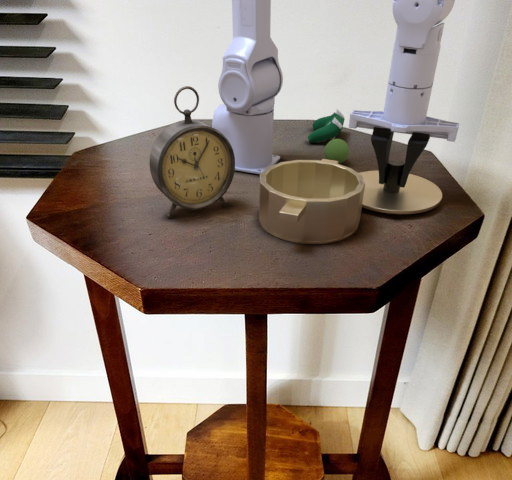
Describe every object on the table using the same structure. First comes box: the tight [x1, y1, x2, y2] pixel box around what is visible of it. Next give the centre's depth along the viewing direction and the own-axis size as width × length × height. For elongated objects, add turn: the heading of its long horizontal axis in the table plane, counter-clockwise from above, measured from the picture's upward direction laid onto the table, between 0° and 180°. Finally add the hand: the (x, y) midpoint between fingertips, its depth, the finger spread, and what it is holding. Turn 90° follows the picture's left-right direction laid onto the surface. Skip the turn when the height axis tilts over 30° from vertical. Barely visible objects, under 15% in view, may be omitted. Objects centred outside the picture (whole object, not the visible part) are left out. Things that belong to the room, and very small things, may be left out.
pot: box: [258, 158, 365, 245], centre depth 73 cm, size 14×19×6 cm
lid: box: [358, 159, 443, 215], centre depth 79 cm, size 15×15×5 cm
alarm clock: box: [149, 85, 236, 219], centre depth 72 cm, size 11×5×16 cm, turn 118°
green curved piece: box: [307, 108, 345, 144], centre depth 100 cm, size 9×4×6 cm
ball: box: [324, 138, 350, 165], centre depth 90 cm, size 4×4×4 cm
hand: (392, 183), depth 79 cm, fingers closed on lid, 2 cm apart
